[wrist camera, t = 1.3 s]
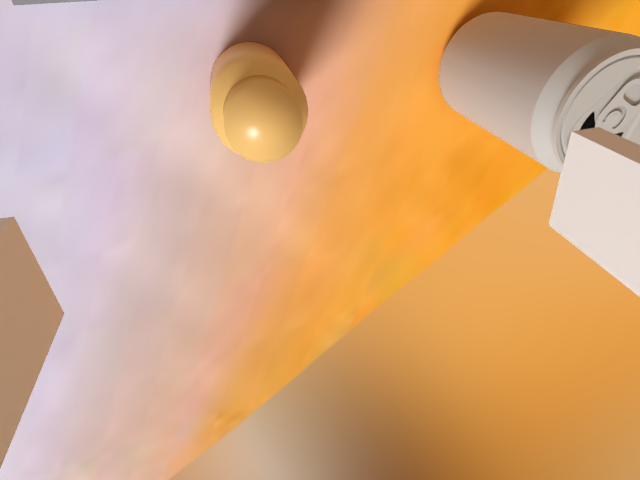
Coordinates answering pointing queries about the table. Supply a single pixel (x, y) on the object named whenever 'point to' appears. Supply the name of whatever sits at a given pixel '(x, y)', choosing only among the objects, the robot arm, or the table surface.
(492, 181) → the table surface
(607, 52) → the beverage can
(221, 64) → the nesting doll
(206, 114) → the table surface
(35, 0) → the collar board
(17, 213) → the table surface
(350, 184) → the table surface
